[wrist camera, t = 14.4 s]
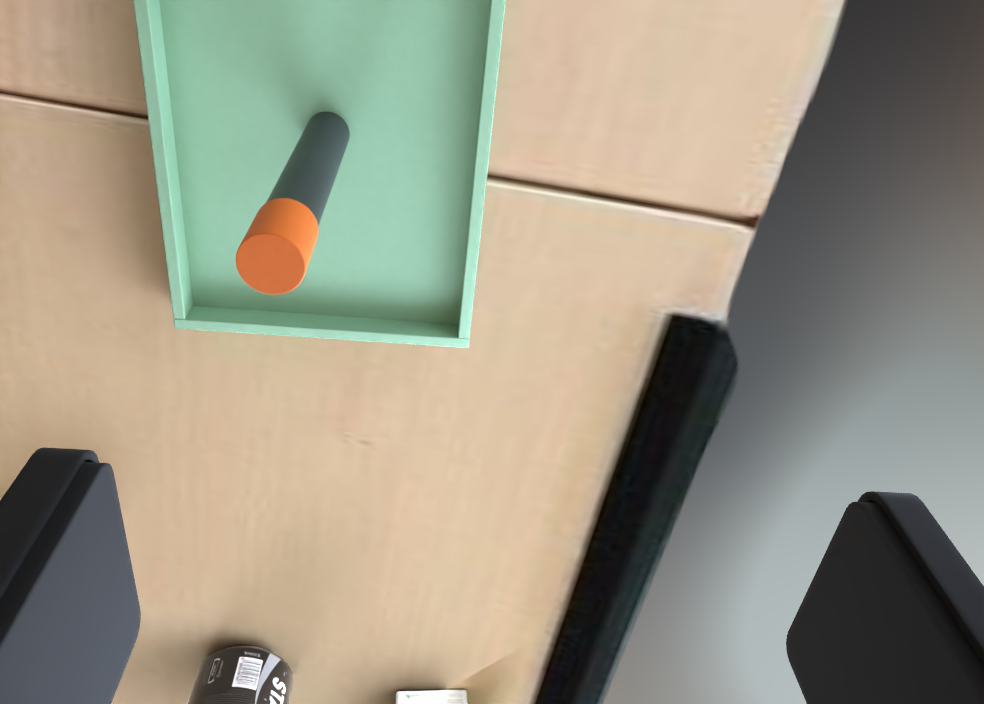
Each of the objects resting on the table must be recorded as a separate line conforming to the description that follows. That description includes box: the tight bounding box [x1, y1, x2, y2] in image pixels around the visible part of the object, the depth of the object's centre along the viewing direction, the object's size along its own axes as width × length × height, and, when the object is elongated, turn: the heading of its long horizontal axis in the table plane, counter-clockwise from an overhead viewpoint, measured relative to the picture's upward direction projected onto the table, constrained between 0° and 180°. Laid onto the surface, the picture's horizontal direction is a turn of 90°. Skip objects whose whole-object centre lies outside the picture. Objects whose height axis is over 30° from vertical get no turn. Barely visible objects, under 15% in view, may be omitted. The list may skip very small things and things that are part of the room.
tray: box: [133, 0, 506, 348], centre depth 36 cm, size 21×15×2 cm
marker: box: [236, 112, 350, 295], centre depth 31 cm, size 2×2×14 cm
